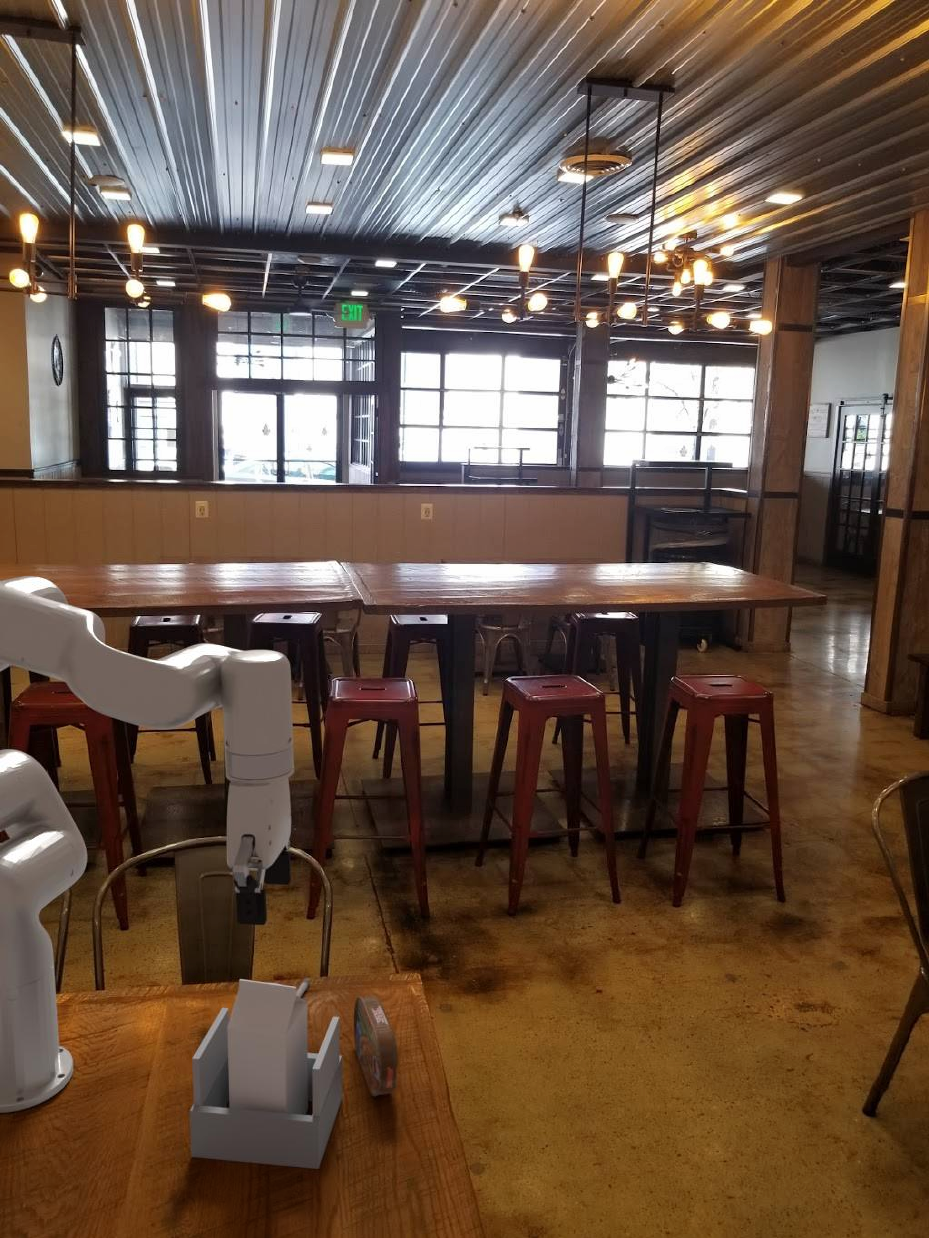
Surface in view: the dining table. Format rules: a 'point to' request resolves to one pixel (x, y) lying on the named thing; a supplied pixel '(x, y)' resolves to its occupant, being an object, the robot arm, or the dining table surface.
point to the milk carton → (268, 1049)
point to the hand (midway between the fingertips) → (265, 902)
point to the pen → (303, 987)
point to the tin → (375, 1045)
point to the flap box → (260, 1130)
